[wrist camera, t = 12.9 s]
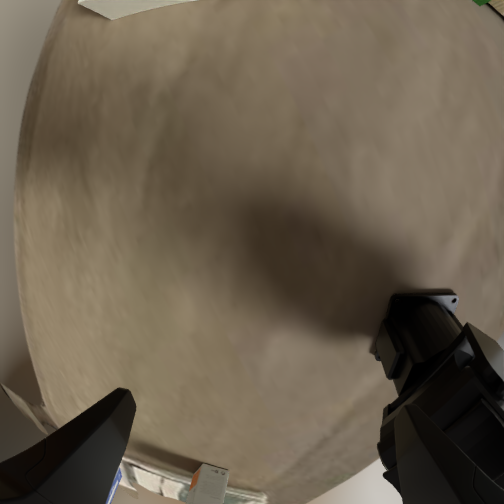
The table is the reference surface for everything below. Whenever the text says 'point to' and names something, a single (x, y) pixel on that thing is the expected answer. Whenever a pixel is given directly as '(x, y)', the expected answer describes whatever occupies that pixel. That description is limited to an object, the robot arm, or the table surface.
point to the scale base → (125, 6)
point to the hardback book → (493, 4)
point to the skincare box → (208, 485)
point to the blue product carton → (114, 486)
